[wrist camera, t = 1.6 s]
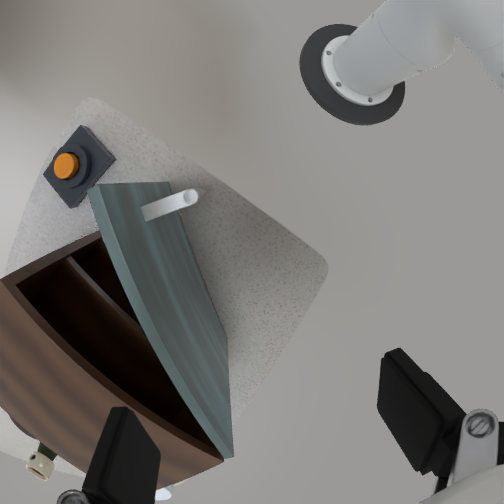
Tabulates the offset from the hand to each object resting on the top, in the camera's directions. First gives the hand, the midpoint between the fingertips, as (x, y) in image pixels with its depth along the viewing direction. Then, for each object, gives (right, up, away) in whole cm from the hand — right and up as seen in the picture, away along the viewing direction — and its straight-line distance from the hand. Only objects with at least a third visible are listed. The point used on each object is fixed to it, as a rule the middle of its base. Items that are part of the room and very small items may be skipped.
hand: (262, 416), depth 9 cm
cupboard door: (-6, +4, +34) cm, 34 cm away
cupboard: (-21, -6, +35) cm, 41 cm away
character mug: (-57, -48, +42) cm, 86 cm away
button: (-26, +18, +24) cm, 40 cm away
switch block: (-27, +19, +28) cm, 43 cm away
